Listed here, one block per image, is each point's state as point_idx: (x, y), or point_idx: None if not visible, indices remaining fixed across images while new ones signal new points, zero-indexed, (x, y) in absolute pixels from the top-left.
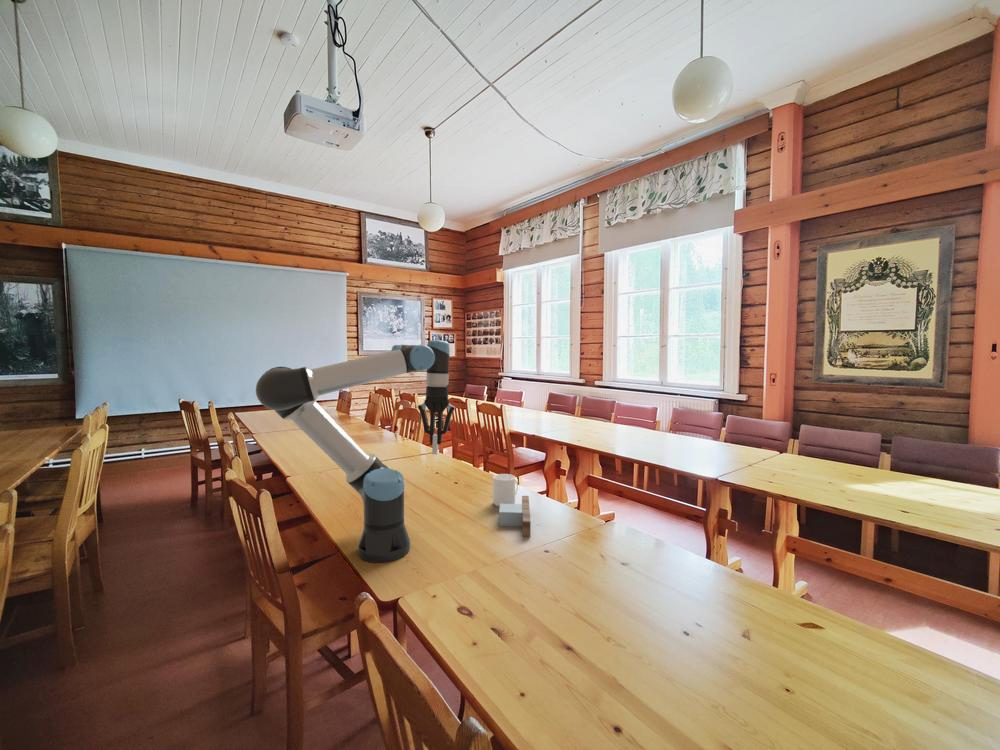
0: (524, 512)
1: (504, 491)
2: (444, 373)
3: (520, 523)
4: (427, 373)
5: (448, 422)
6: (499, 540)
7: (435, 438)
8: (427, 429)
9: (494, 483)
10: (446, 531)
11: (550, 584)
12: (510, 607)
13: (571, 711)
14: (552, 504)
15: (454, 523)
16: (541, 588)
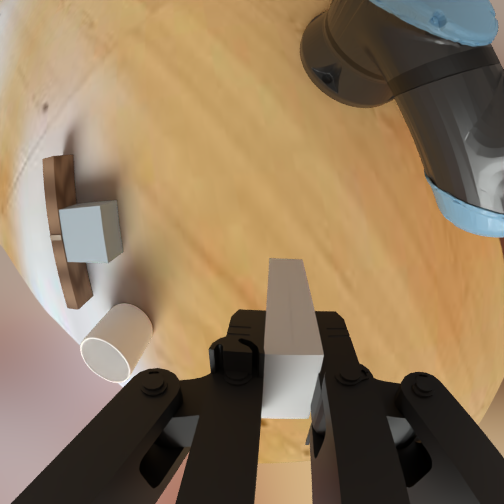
0: (54, 207)
1: (107, 321)
2: None
3: (76, 204)
4: None
5: (36, 479)
6: (110, 125)
7: (284, 332)
8: (418, 409)
9: (127, 345)
10: (233, 152)
11: (59, 22)
12: None
13: None
14: (55, 313)
15: (221, 202)
16: (71, 9)
